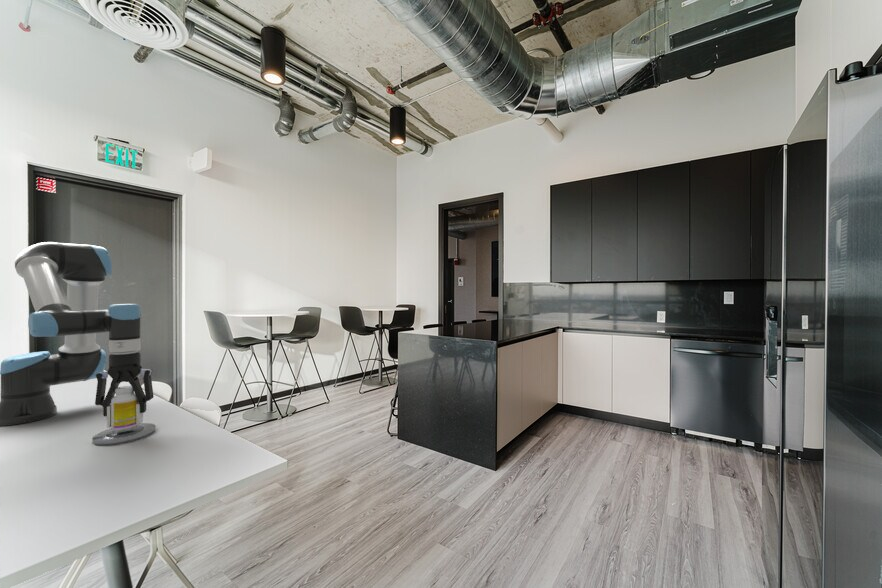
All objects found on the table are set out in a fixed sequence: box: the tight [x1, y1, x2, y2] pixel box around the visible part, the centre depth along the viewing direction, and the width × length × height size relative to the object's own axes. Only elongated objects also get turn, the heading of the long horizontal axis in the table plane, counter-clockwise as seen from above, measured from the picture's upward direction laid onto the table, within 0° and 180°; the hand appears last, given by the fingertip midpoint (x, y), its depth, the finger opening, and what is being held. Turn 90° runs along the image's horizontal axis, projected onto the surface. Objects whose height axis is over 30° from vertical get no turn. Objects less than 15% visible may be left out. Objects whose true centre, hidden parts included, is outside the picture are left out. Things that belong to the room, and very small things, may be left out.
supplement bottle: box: [110, 385, 139, 431], centre depth 112 cm, size 7×7×13 cm
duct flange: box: [91, 422, 157, 447], centre depth 112 cm, size 15×15×1 cm
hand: (125, 424), depth 112 cm, fingers closed on supplement bottle, 7 cm apart
